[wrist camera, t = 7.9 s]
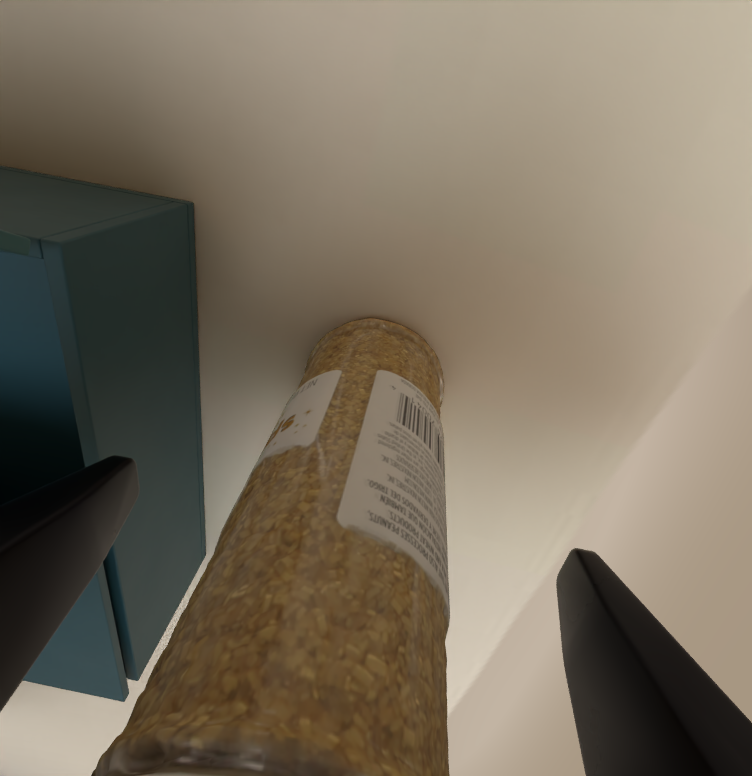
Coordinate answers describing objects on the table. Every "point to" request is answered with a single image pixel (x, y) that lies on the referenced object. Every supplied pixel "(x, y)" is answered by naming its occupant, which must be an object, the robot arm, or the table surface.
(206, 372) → the table surface
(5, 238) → the panel
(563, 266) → the table surface
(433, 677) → the sprinkles bottle
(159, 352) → the box
